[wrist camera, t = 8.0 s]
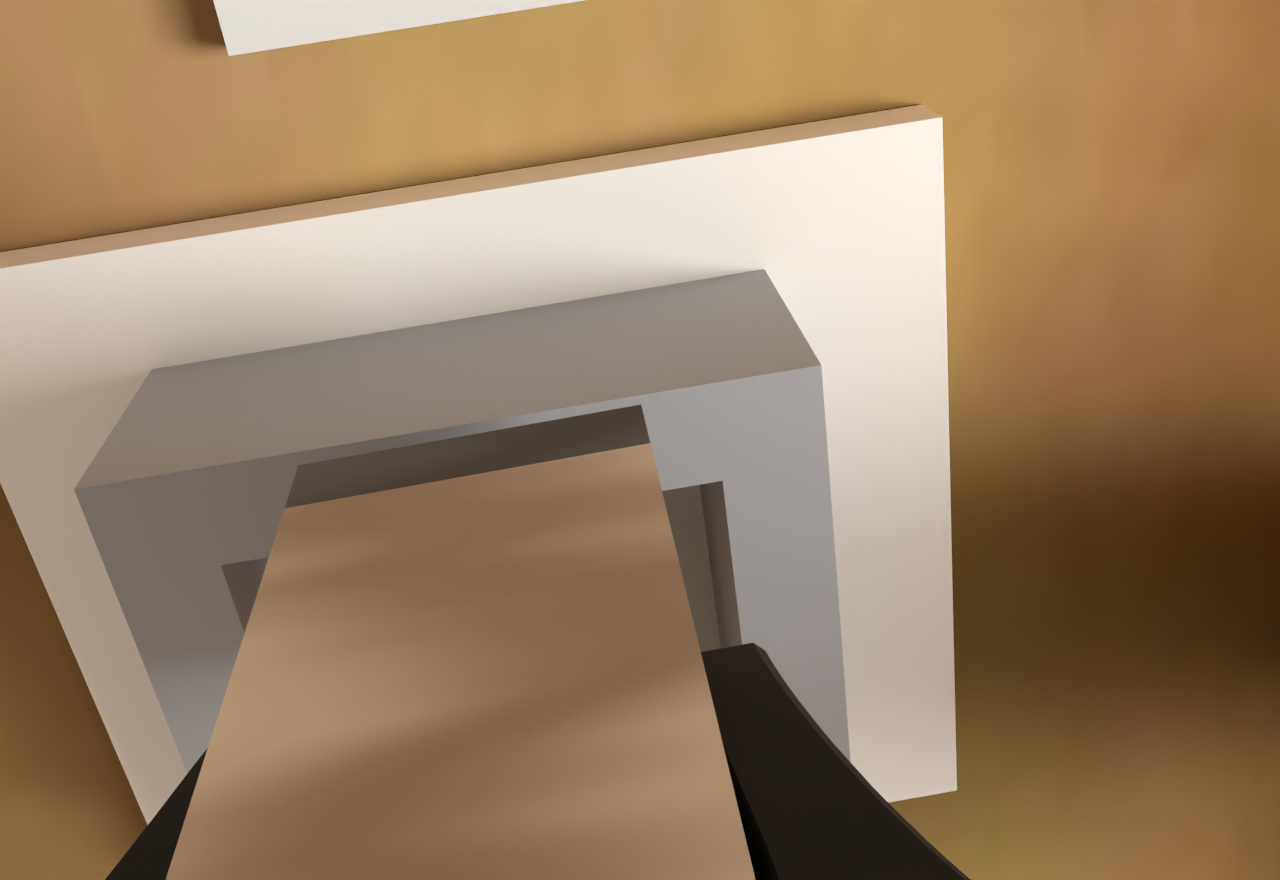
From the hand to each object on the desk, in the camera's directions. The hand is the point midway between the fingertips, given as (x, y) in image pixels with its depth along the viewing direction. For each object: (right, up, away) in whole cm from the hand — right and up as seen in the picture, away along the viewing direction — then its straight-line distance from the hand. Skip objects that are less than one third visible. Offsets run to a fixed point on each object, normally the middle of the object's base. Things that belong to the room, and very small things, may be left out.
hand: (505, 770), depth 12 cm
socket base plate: (-1, +1, +11) cm, 11 cm away
